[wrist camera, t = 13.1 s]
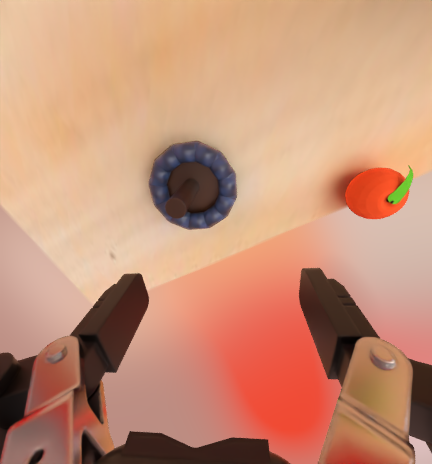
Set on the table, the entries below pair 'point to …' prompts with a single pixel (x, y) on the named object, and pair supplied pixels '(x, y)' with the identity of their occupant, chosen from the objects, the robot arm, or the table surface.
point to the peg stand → (191, 189)
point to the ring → (205, 157)
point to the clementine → (378, 193)
